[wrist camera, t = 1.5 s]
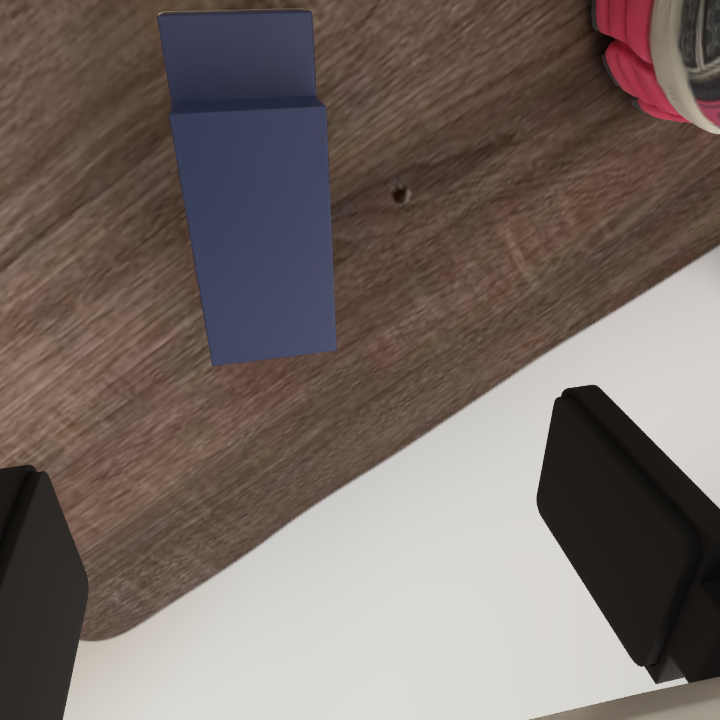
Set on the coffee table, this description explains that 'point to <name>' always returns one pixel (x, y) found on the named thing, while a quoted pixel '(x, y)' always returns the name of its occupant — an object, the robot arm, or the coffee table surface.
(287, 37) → the navy stepped block
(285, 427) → the coffee table surface
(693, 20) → the running shoe
